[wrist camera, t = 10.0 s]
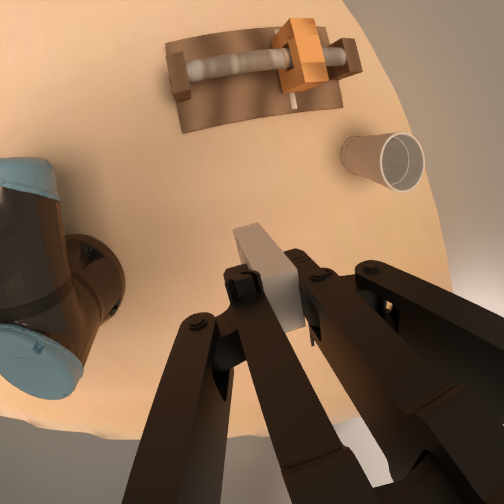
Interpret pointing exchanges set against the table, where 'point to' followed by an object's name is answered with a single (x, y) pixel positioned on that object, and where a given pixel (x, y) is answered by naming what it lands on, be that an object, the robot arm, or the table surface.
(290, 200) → the table surface
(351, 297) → the robot arm
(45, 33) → the table surface
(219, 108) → the pipe stand
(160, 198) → the table surface
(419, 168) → the cup
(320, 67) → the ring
